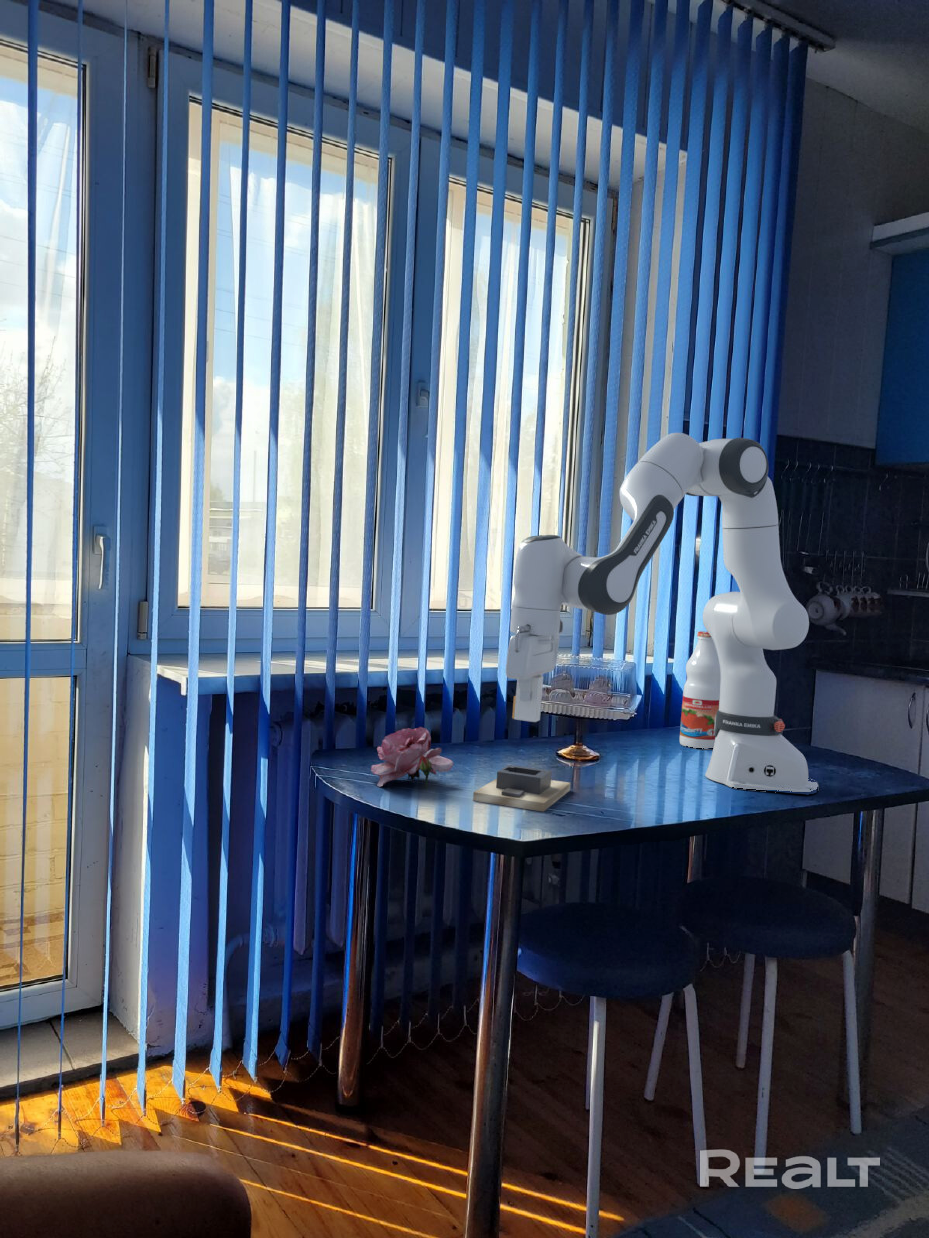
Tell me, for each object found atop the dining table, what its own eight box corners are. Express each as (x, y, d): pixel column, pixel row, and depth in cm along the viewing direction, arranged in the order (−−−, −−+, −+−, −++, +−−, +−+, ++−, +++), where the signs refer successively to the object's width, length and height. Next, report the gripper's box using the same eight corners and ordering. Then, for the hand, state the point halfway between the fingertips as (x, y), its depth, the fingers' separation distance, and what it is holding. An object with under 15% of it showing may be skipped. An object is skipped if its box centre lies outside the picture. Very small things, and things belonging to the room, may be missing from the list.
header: (550, 786, 186) (551, 770, 186) (539, 794, 179) (540, 777, 179) (508, 780, 189) (509, 764, 189) (496, 787, 182) (497, 771, 182)
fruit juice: (724, 746, 247) (733, 633, 245) (710, 751, 239) (719, 634, 237) (687, 740, 252) (696, 629, 250) (672, 745, 245) (682, 630, 243)
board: (569, 790, 190) (570, 779, 190) (543, 811, 174) (544, 799, 173) (504, 780, 195) (505, 770, 195) (472, 800, 178) (473, 788, 178)
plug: (539, 719, 184) (543, 676, 183) (535, 722, 181) (538, 678, 181) (515, 716, 185) (519, 673, 185) (510, 718, 183) (514, 675, 182)
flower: (408, 755, 199) (406, 710, 195) (465, 779, 190) (463, 733, 186) (353, 786, 188) (350, 739, 185) (410, 813, 179) (407, 764, 176)
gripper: (535, 628, 171) (529, 708, 172) (566, 623, 190) (560, 695, 191) (500, 624, 173) (494, 704, 174) (534, 620, 192) (528, 691, 193)
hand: (529, 699), depth 183 cm, fingers closed on plug, 3 cm apart
